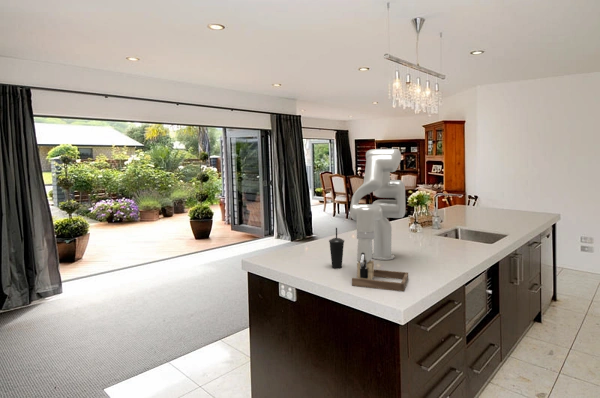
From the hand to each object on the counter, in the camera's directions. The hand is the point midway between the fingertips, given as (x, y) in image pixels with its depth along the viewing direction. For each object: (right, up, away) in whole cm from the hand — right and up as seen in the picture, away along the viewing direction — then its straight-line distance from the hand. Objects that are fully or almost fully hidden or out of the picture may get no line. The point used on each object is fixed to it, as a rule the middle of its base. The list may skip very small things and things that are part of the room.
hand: (365, 275), depth 159 cm
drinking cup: (-10, -1, +22) cm, 24 cm away
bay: (+6, -3, -2) cm, 6 cm away
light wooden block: (0, -1, 0) cm, 1 cm away
